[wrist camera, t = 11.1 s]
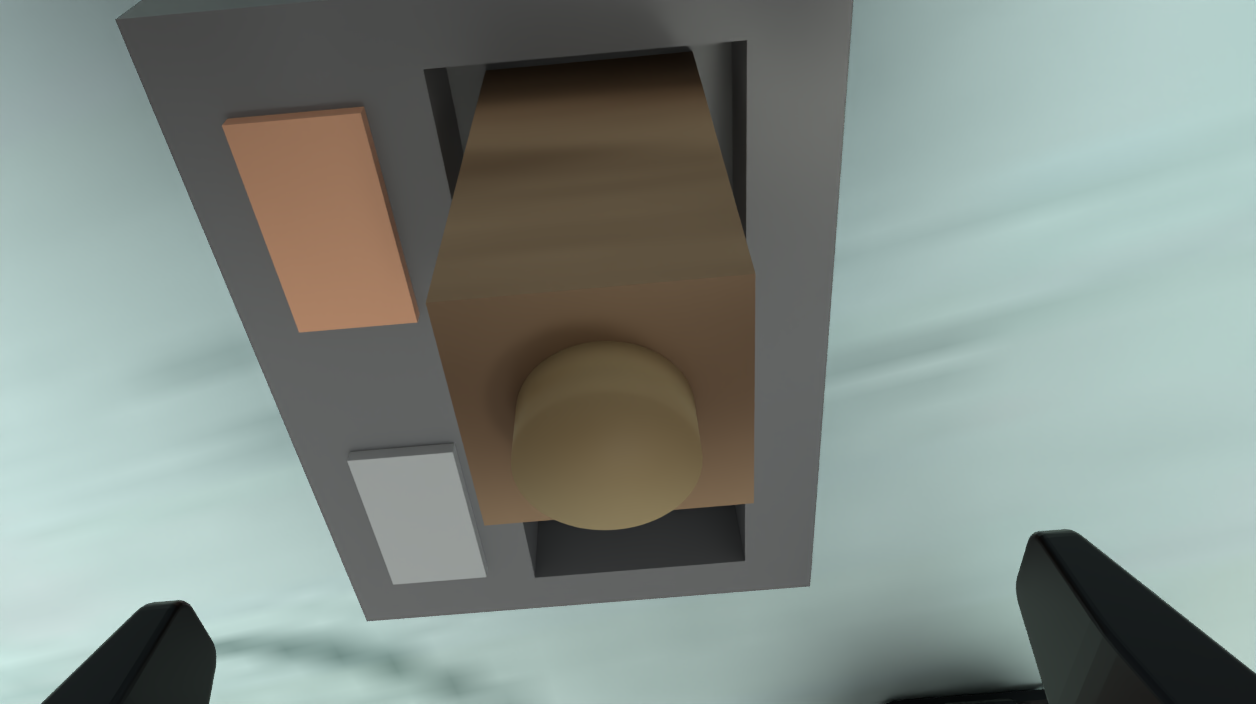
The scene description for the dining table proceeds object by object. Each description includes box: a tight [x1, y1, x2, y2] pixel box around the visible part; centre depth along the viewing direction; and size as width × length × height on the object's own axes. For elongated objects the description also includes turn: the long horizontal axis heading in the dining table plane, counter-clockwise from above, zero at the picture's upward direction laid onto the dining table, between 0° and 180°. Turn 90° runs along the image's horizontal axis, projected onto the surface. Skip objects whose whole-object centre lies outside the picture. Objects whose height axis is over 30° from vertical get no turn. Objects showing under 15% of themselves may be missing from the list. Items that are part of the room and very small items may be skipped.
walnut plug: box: [426, 51, 756, 530], centre depth 15 cm, size 4×4×9 cm
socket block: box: [115, 0, 853, 621], centre depth 20 cm, size 16×12×3 cm
